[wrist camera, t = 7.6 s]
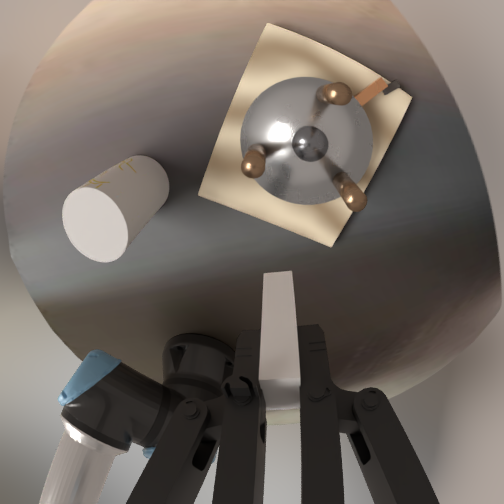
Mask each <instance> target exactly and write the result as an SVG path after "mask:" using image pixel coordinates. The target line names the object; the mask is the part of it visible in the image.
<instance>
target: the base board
mask: <svg viewBox="0 0 504 504" xmlns="http://www.w3.org/2000/svg"><path fill="white" fill-rule="evenodd" d="M295 77H315V78H320V79H324V80H327V81H330V82H333V83H335V82H342V83H345V84H347V85H348V86H349V87H350V89H351V91H352V96H353V97H354V96H355V95H357V94H358V93H359V92H360V91H362V90H363V89H364V88H366V87H367V86H368V85H370V84H371V83H372V82H374V81H375V80H376V79H378V78H379V77H382V76H380V75H378V74H377V73H375V72H373V71H372V70H370V69H368V68H367V67H365V66H363V65H361V64H360V63H358V62H356V61H354V60H352V59H351V58H349V57H347V56H345V55H343V54H341V53H339V52H337V51H335V50H333V49H331V48H329V47H327V46H325V45H322V44H320V43H318V42H316V41H314V40H311V39H309V38H307V37H304V36H302V35H299V34H297V33H294V32H292V31H289V30H286V29H284V28H281V27H278V26H275V25H272V24H270V23H267V25H266V27H265V29H264V31H263V33H262V35H261V37H260V39H259V41H258V43H257V45H256V47H255V50H254V52H253V54H252V56H251V58H250V61H249V63H248V65H247V67H246V70H245V72H244V74H243V76H242V79H241V81H240V83H239V86H238V88H237V91H236V93H235V95H234V98H233V100H232V103H231V105H230V108H229V110H228V113H227V115H226V118H225V120H224V123H223V126H222V128H221V131H220V133H219V136H218V139H217V141H216V144H215V147H214V150H213V152H212V155H211V158H210V161H209V164H208V166H207V169H206V172H205V175H204V178H203V181H202V184H201V187H200V190H199V193H198V196H201V197H204V198H206V199H209V200H212V201H215V202H217V203H220V204H223V205H225V206H228V207H231V208H233V209H236V210H239V211H241V212H244V213H247V214H249V215H252V216H254V217H257V218H259V219H262V220H265V221H267V222H270V223H272V224H275V225H277V226H280V227H282V228H285V229H287V230H290V231H292V232H295V233H297V234H300V235H302V236H305V237H307V238H310V239H312V240H315V241H317V242H319V243H322V244H324V245H327V246H329V247H332V245H333V244H334V242H335V240H336V239H337V237H338V235H339V234H340V232H341V230H342V229H343V227H344V225H345V224H346V222H347V220H348V219H349V217H350V215H351V214H352V212H353V211H351V210H350V209H349V208H348V207H347V205H346V204H345V202H344V201H343V199H342V197H339V198H337V199H335V200H332V201H329V202H326V203H322V204H315V205H301V204H294V203H290V202H286V201H284V200H281V199H279V198H277V197H275V196H273V195H271V194H270V193H268V192H267V191H266V190H264V189H263V188H262V187H261V186H260V185H259V184H258V183H257V182H256V181H255V180H254V179H252V178H248V177H246V176H245V175H244V174H243V173H242V170H241V163H242V161H243V157H242V152H241V145H240V134H241V127H242V123H243V120H244V117H245V114H246V112H247V111H248V109H249V107H250V105H251V104H252V103H253V101H254V100H255V99H256V98H257V97H258V96H259V95H260V94H261V93H262V92H263V91H265V90H266V89H267V88H269V87H270V86H272V85H274V84H276V83H278V82H280V81H283V80H286V79H290V78H295ZM382 78H383V77H382ZM383 80H384V81H385V82H386V84H387V85H388V87H386V88H385V89H384V90H382V91H381V92H380V93H379V94H377V95H376V96H375V97H373V98H372V99H371V100H369V101H368V102H367V103H365V104H364V105H363V106H362V108H363V109H364V111H365V113H366V115H367V117H368V119H369V122H370V125H371V129H372V134H373V151H372V156H371V160H370V163H369V166H368V168H367V170H366V172H365V174H364V175H363V177H362V178H361V180H360V181H359V182H358V183H357V186H358V187H359V188H360V189H361V190H362V191H363V193H364V191H365V189H366V187H367V186H368V184H369V182H370V180H371V178H372V176H373V175H374V173H375V171H376V169H377V167H378V165H379V163H380V162H381V160H382V158H383V156H384V154H385V152H386V150H387V148H388V146H389V144H390V142H391V140H392V138H393V136H394V134H395V132H396V130H397V128H398V126H399V124H400V122H401V120H402V118H403V116H404V114H405V112H406V110H407V108H408V106H409V103H410V101H411V99H412V97H411V96H410V95H408V94H407V93H405V92H404V91H403V90H401V89H400V88H399V87H401V86H400V84H399V83H398V81H397V80H394V81H393V82H389V81H388V80H386V79H385V78H383Z"/></svg>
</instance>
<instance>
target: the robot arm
mask: <svg viewBox="0 0 504 504" xmlns="http://www.w3.org/2000/svg"><path fill="white" fill-rule="evenodd" d="M162 360H163V378H164V381H163V385H162V384H160V383H158V382H156V381H154V380H152V379H150V378H149V377H147V376H145V375H143V374H141V373H139V372H138V371H136V370H134V369H132V368H131V367H129V366H127V365H126V364H124V363H122V362H121V360H120V359H116V358H114V357H112V356H111V355H109V354H107V353H105V352H104V351H102V350H92V351H91V352H90V353H89V354H88V355H87V356H86V358H85V359H84V361H83V362H82V363H81V365H80V366H79V368H78V369H77V371H76V372H75V373H74V375H73V376H72V378H71V379H70V381H69V382H68V384H67V385H66V386H65V388H64V389H63V391H62V392H61V394H60V395H59V397H58V401H59V403H60V404H61V405H62V406H64V408H63V410H62V413H61V415H60V416H61V418H62V421H63V424H64V426H65V431H64V433H63V436H62V438H61V441H60V443H59V446H58V448H57V451H56V454H55V456H54V459H53V462H52V465H51V467H50V470H49V473H48V476H47V479H46V482H45V485H44V489H43V492H42V495H41V499H40V502H39V504H97V503H98V500H99V497H100V494H101V492H102V489H103V486H104V484H105V481H106V479H107V476H108V473H109V471H110V468H111V466H112V463H113V460H114V458H115V456H117V455H120V454H123V453H127V452H128V450H129V448H130V445H131V443H132V442H133V443H136V444H138V445H141V446H143V447H144V449H143V455H144V456H145V457H146V458H149V461H148V463H147V465H146V467H145V469H144V470H143V472H142V474H141V476H140V478H139V480H138V482H137V484H136V486H135V487H134V489H133V491H132V493H131V495H130V497H129V499H128V500H127V502H126V504H194V501H195V499H196V497H197V495H198V493H199V491H200V488H201V486H202V484H203V482H204V479H205V477H206V475H207V472H208V470H209V468H210V466H211V464H212V463H213V462H214V461H215V458H216V454H217V450H218V447H219V454H218V461H217V469H216V477H215V485H214V492H213V500H212V504H263V494H264V474H265V452H266V428H267V427H266V426H267V421H266V410H283V409H298V408H300V426H301V504H344V486H343V472H342V471H343V470H342V458H341V445H340V435H339V432H340V433H346V434H347V437H348V439H349V441H350V444H351V446H352V449H353V451H354V453H355V456H356V458H357V461H358V463H359V466H360V468H361V470H362V473H363V475H364V478H365V481H366V483H367V486H368V488H369V491H370V493H371V496H372V498H373V501H374V503H375V504H439V502H438V499H437V497H436V495H435V493H434V491H433V488H432V486H431V484H430V482H429V480H428V477H427V475H426V473H425V471H424V469H423V467H422V465H421V463H420V461H419V459H418V457H417V455H416V453H415V451H414V449H413V447H412V445H411V443H410V441H409V439H408V437H407V435H406V433H405V431H404V429H403V427H402V425H401V423H400V421H399V419H398V417H397V416H396V414H395V412H394V410H393V408H392V406H391V404H390V403H389V401H388V399H387V397H386V395H385V394H384V393H383V392H382V391H381V390H379V389H377V388H371V387H370V388H365V389H363V390H361V391H359V392H352V391H346V390H342V389H340V388H338V387H337V386H336V385H335V384H334V383H333V382H332V380H331V376H330V370H329V363H328V356H327V351H326V343H325V337H324V332H323V330H322V329H321V328H320V326H319V325H318V324H316V325H306V326H297V322H296V310H295V299H294V288H293V278H292V271H285V272H273V273H264V280H263V303H262V324H261V330H243V331H242V332H241V334H240V335H239V337H238V338H237V344H236V352H234V351H233V350H232V349H231V348H230V347H229V346H227V345H226V344H224V343H222V342H221V341H218V340H216V339H214V338H211V337H207V336H203V335H197V334H183V335H178V336H175V337H173V338H171V339H170V340H169V341H168V342H167V343H166V346H165V348H164V351H163V356H162Z"/></svg>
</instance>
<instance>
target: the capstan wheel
mask: <svg viewBox="0 0 504 504" xmlns="http://www.w3.org/2000/svg"><path fill="white" fill-rule="evenodd" d="M386 87H388V85H387V84H386V82H385V81H384V80H383V78H382V77H379V78H378V79H376V80H375V81H374V82H372V83H371V84H370V85H368V86H367V87H366V88H364V89H363V90H362V91H360V92H359V93H358V94H357V95H355V96H354V97H353V96H352V91H351V89H350V87H349V86H348V85H347V84H345V83H342V82H335V83H333V82H330V81H327V80H324V79H320V78H315V77H295V78H290V79H286V80H283V81H280V82H278V83H276V84H274V85H272V86H270V87H269V88H267V89H266V90H265V91H263V92H262V93H261V94H260V95H259V96H258V97H257V98H256V99H255V100H254V101H253V103H252V104H251V105H250V107H249V109H248V111H247V112H246V114H245V117H244V120H243V123H242V127H241V134H240V145H241V152H242V157H243V161H242V163H241V170H242V173H243V174H244V175H245V176H246V177H248V178H252V179H254V180H255V181H256V182H257V183H258V184H259V185H260V186H261V187H262V188H263V189H264V190H266V191H267V192H268V193H270V194H271V195H273V196H275V197H277V198H279V199H281V200H284V201H286V202H290V203H294V204H301V205H315V204H322V203H326V202H329V201H332V200H335V199H337V198H339V197H342V199H343V201H344V202H345V204H346V205H347V207H348V208H349V209H350V210H351V211H354V212H358V211H361V210H363V209H364V208H365V206H366V204H367V197H366V195H365V194H364V193H363V191H362V190H361V189H360V188H359V187H358V186H357V183H358V182H359V181H360V180H361V178H362V177H363V175H364V174H365V172H366V170H367V168H368V166H369V163H370V160H371V156H372V151H373V134H372V129H371V125H370V122H369V119H368V117H367V115H366V113H365V111H364V109H363V108H362V106H363V105H364V104H365V103H367V102H368V101H369V100H371V99H372V98H373V97H375V96H376V95H377V94H379V93H380V92H381V91H382V90H384V89H385V88H386Z"/></svg>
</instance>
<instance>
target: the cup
mask: <svg viewBox="0 0 504 504" xmlns="http://www.w3.org/2000/svg"><path fill="white" fill-rule="evenodd" d="M168 194H169V180H168V177H167V174H166V172H165V170H164V169H163V167H162V166H161V165H160V164H159V163H158V162H157V161H155V160H154V159H152V158H150V157H147V156H142V155H137V156H132V157H130V158H128V159H126V160H124V161H122V162H120V163H119V164H117V165H115V166H113V167H112V168H110V169H108V170H106V171H105V172H103V173H101V174H100V175H98V176H96V177H95V178H93V179H91V180H90V181H88V182H87V183H85V184H83V185H82V186H80V187H79V188H77V189H76V190H74V191H73V192H71V193H70V194H69V196H68V197H67V198H66V200H65V203H64V206H63V212H62V217H63V224H64V228H65V231H66V233H67V235H68V237H69V239H70V241H71V242H72V244H73V245H74V246H75V247H76V248H77V249H78V250H79V251H80V252H81V253H82V254H84V255H85V256H86V257H88V258H90V259H92V260H95V261H99V262H111V261H114V260H116V259H118V258H119V257H120V256H121V255H122V254H123V253H124V251H125V250H126V249H127V247H128V246H129V245H130V244H131V242H132V241H133V240H134V239H135V237H136V236H137V235H138V234H139V233H140V231H141V230H142V229H143V228H144V226H145V225H146V224H147V223H148V222H149V221H150V219H151V218H152V217H153V216H154V215H155V213H156V212H157V211H158V210H159V209H160V208H161V207H162V205H163V204H164V203H165V201H166V200H167V197H168Z"/></svg>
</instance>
